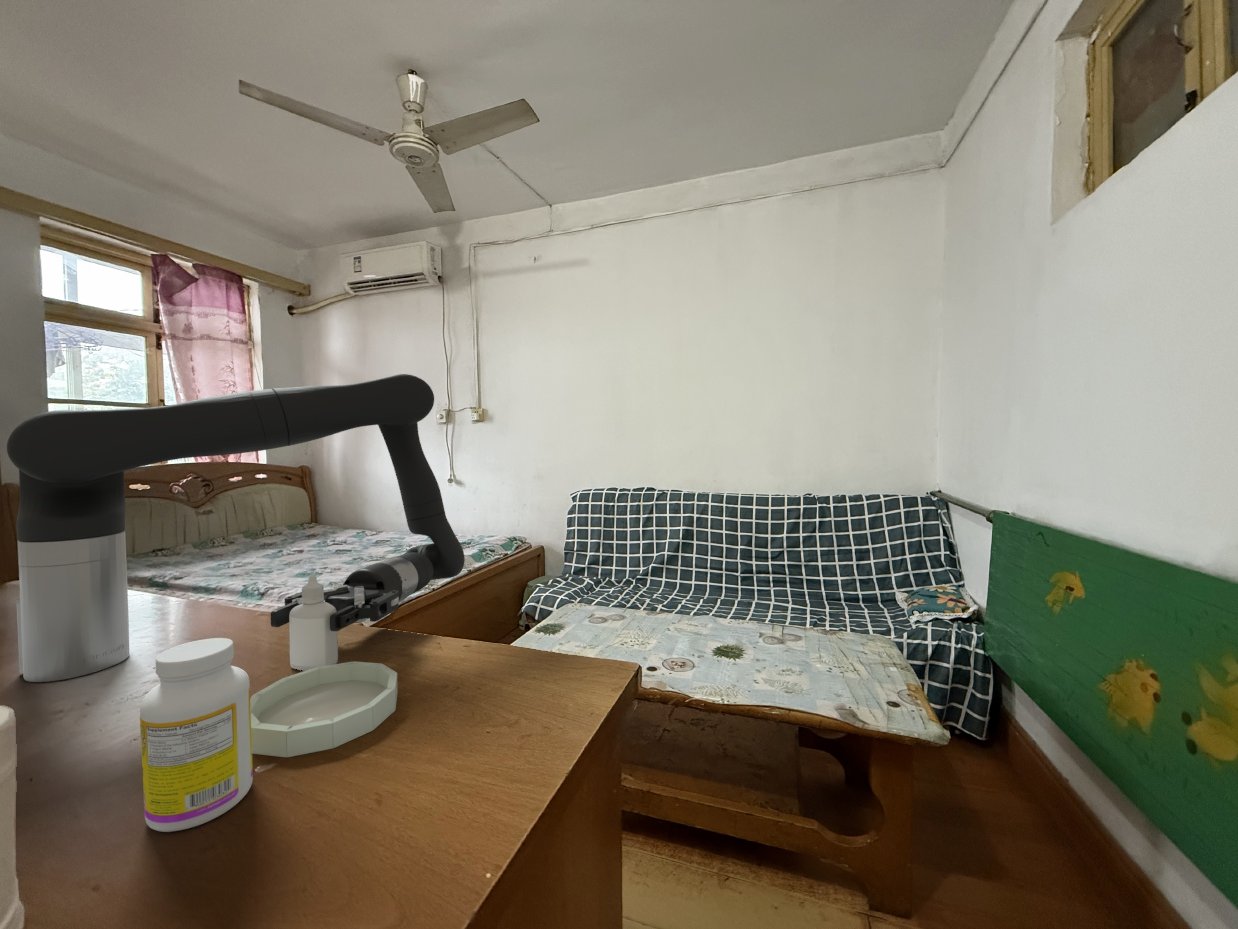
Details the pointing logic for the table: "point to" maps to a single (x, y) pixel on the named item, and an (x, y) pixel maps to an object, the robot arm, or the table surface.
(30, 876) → the table surface
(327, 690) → the dish
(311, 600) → the eye dropper bottle
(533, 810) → the table surface
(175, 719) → the supplement bottle
